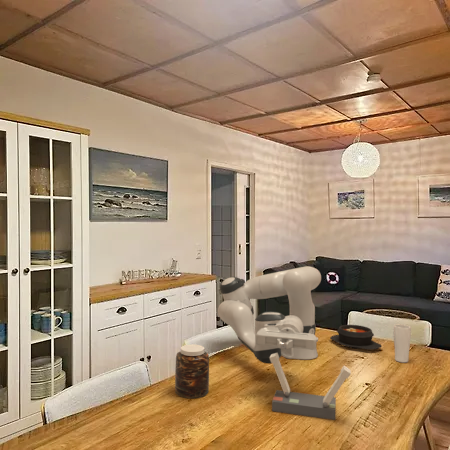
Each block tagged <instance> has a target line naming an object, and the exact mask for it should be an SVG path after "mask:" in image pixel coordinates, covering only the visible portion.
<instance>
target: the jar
mask: <svg viewBox="0 0 450 450" xmlns="http://www.w3.org/2000/svg"><path fill="white" fill-rule="evenodd" d="M174 369H175V372H174V373H175V374H174V375H175V376H174V377H175V379H174V380H175V381H174V385H175V386H174V393H175V394H176V395H177V396H179V397H180V398H184V399H199V398H202V397H205V396H207V395H208V394H209V389H210V388H209V387H210V357H209V353H208V352H207V351H205V347H204V345H200V344H195V343H194V344H193V343H192V344H185V345H182V346H181V347H180V351H178V352H177V353H176V355H175V368H174Z"/></svg>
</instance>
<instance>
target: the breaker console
mask: <svg viewBox="0 0 450 450" xmlns="http://www.w3.org/2000/svg"><path fill="white" fill-rule="evenodd" d="M325 396H326V395H318V394H317V395H316V394H310V393H303V392H295V391H290V393H289V396H288V397H286V396H285V394H284V392H283V390H280V389H276V390H275V393H274V394H273V398H272V401H271V412H275V413H276V412H277V413H281V414H282V413H283V414H289V415H290V414H291V415H298V416H304V417H309V418H310V417H311V418H318V419H326V420H332V421H333V420H334V421H336V412H337V411H336V410H337V409H336V404H337V402H336V401H337V398H336V397H335V396H334V397H333V399H332V400H331V402H330V403H329V405H328V406H327V407H324V406H323V399H324V397H325Z"/></svg>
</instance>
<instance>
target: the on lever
mask: <svg viewBox="0 0 450 450" xmlns="http://www.w3.org/2000/svg"><path fill="white" fill-rule="evenodd" d="M351 375H352V372H351V368H348V367H347V366H346V365H343V366H342V368H341V369H340V372H339V373H338V376H337V377H336V379H335V380H334V382H333V383H332V385H331V387H330V388H329V389H328V391H327V392H326V393H325V395H324V396H325V397H324V399H323V406H324V407H327V406H328V405H329V403H330V402H331V400H332V399H333V397H335V396H336V395H337V393H338V392H339V390H340V388H341V387H342V385H343V384H344V382H345V381H346V379H349V377H350V376H351Z"/></svg>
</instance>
